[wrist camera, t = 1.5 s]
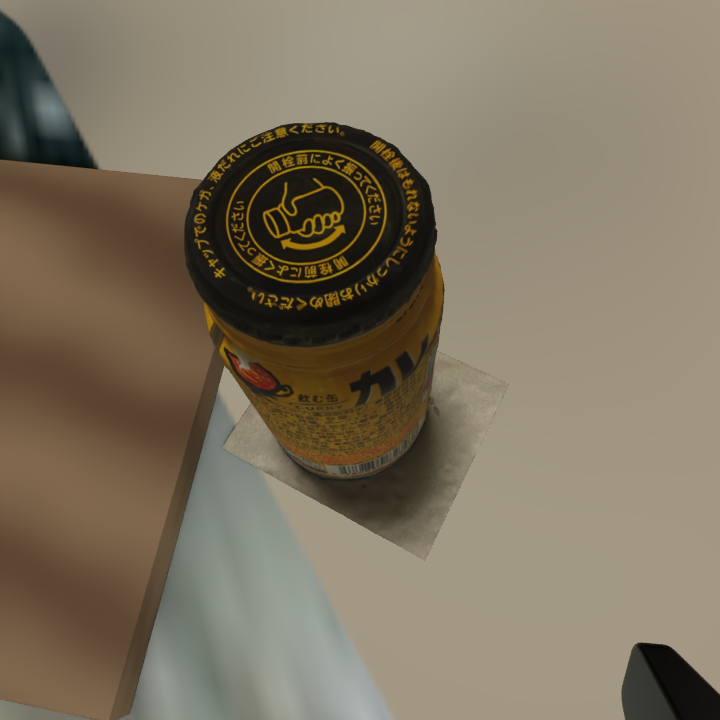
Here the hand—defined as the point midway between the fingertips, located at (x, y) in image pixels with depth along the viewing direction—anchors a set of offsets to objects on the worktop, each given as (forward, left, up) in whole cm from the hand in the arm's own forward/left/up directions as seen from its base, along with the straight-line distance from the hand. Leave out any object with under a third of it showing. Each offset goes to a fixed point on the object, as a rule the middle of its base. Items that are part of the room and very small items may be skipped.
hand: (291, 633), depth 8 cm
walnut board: (+6, +15, -13) cm, 20 cm away
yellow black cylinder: (+7, +1, -13) cm, 15 cm away
